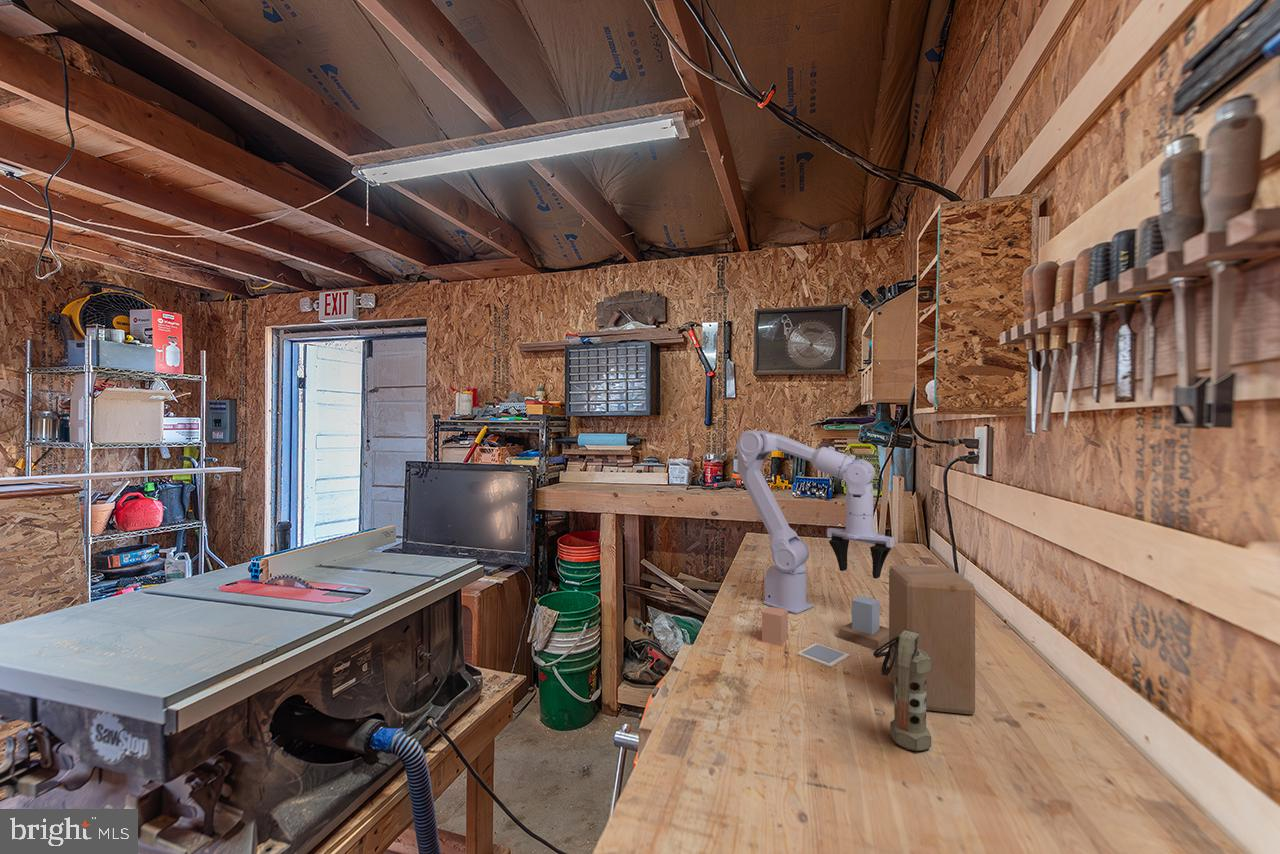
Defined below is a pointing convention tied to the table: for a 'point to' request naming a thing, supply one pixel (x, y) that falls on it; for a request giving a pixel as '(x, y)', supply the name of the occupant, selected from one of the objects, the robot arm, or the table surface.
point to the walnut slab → (865, 637)
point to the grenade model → (908, 690)
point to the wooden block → (938, 630)
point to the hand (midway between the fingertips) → (859, 573)
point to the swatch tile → (823, 655)
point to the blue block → (865, 615)
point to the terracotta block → (775, 626)
